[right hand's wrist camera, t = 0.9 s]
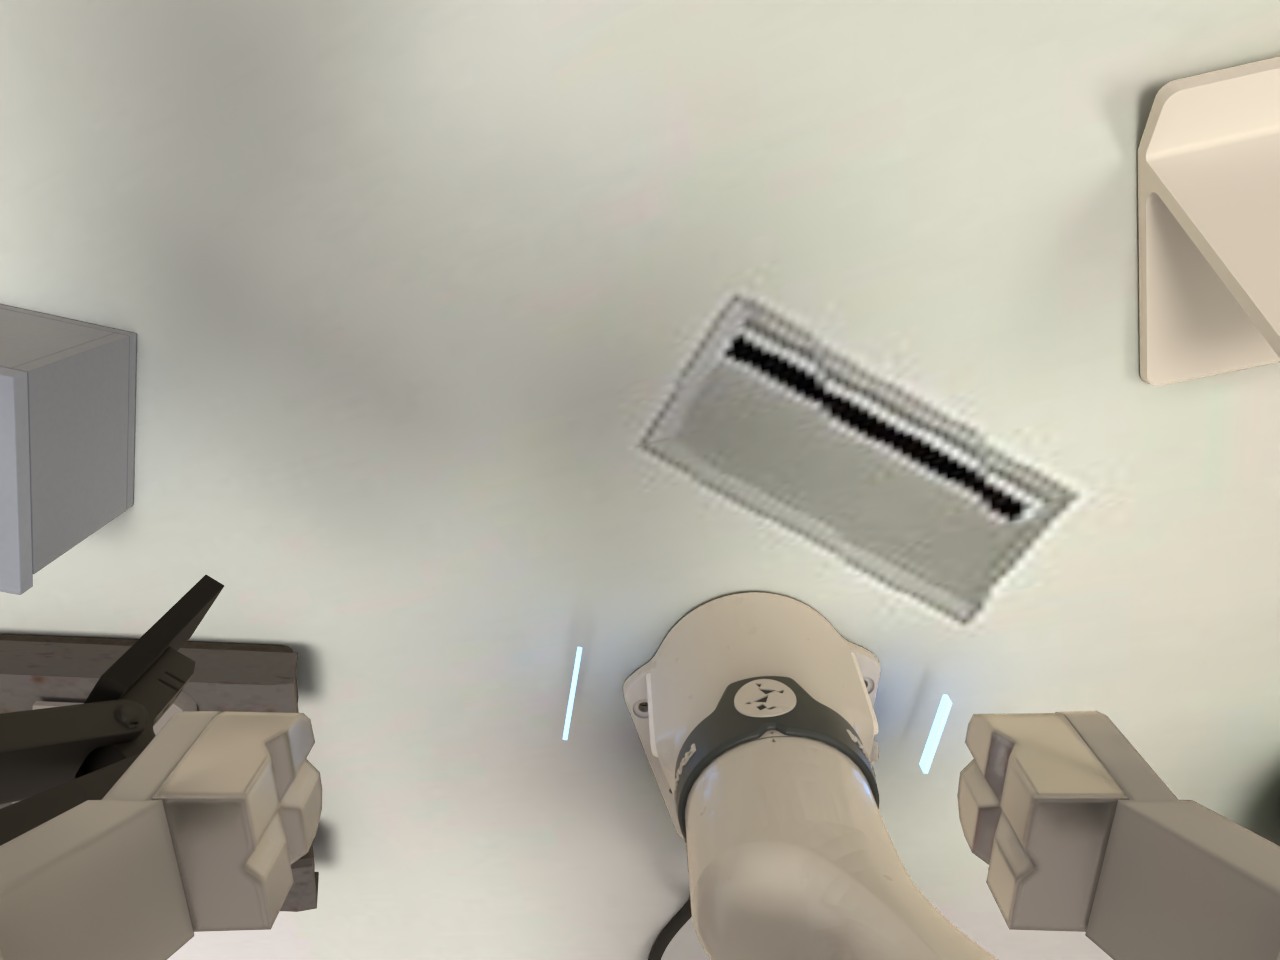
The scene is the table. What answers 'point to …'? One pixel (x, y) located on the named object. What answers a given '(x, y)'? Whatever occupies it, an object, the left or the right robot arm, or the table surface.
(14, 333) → the chest
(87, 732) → the left robot arm
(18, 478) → the lid
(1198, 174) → the tablet stand
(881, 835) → the right robot arm
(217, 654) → the toy
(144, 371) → the table surface
